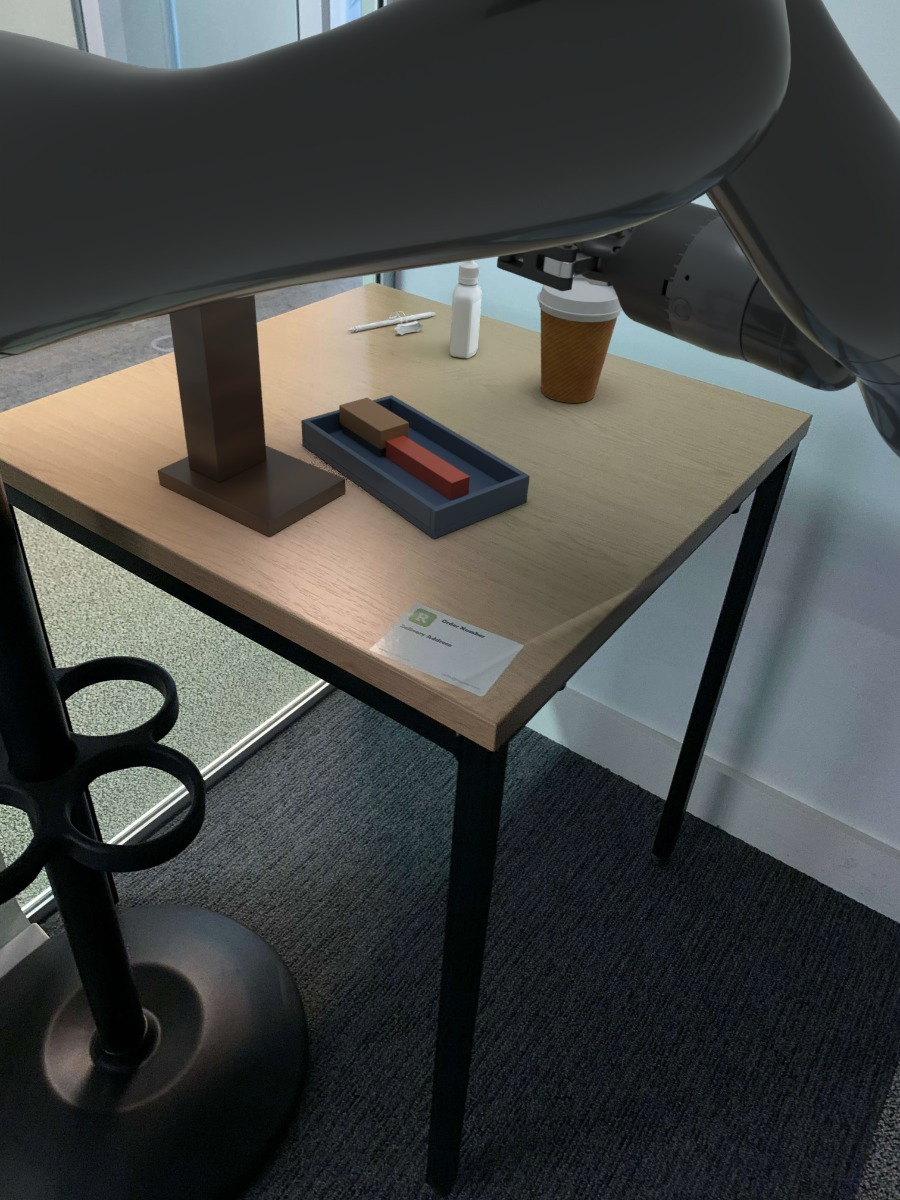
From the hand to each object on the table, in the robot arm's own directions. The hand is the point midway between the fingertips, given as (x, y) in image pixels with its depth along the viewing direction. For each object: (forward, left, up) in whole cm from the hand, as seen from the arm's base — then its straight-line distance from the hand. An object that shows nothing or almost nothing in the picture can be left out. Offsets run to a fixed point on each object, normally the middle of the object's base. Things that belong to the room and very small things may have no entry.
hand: (526, 216), depth 64 cm
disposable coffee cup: (+15, +30, -27) cm, 43 cm away
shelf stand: (-21, +10, -27) cm, 35 cm away
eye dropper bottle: (+5, +43, -27) cm, 51 cm away
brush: (-6, +13, -26) cm, 30 cm away
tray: (-6, +12, -27) cm, 30 cm away
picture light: (-2, +51, -27) cm, 58 cm away
